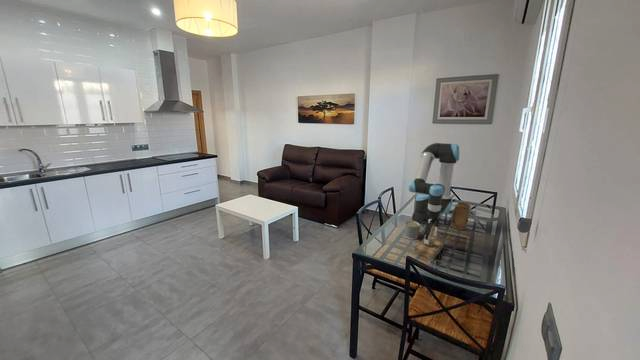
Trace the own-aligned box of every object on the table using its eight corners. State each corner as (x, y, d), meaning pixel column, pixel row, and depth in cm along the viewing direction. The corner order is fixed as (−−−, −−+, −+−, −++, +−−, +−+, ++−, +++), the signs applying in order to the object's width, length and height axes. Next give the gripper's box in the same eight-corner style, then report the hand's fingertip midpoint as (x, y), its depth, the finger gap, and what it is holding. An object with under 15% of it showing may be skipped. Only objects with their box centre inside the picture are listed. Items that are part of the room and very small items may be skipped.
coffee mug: (402, 237, 187) (403, 224, 184) (406, 231, 195) (407, 219, 192) (421, 242, 180) (422, 229, 177) (424, 236, 187) (425, 223, 184)
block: (467, 227, 198) (471, 204, 192) (465, 231, 193) (469, 207, 187) (452, 224, 205) (455, 200, 199) (449, 227, 199) (453, 204, 193)
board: (414, 252, 168) (415, 247, 166) (425, 241, 180) (425, 236, 179) (433, 259, 160) (434, 254, 159) (442, 247, 172) (443, 242, 171)
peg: (424, 250, 170) (427, 226, 164) (427, 247, 173) (429, 223, 167) (431, 252, 167) (434, 228, 162) (433, 250, 170) (436, 225, 165)
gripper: (433, 217, 150) (429, 249, 156) (446, 205, 168) (442, 233, 174) (420, 214, 155) (417, 245, 161) (434, 202, 172) (431, 230, 179)
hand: (430, 239), depth 168 cm, fingers open, 13 cm apart
